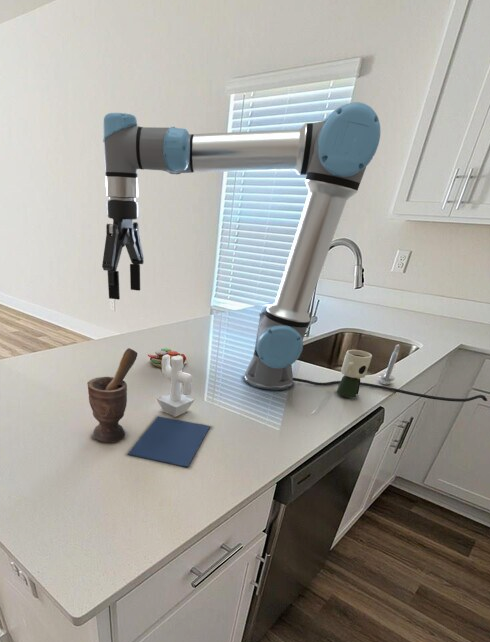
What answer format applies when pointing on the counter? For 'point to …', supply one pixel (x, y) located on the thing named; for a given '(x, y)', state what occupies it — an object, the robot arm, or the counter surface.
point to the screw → (390, 368)
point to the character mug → (353, 372)
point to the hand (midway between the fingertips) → (125, 294)
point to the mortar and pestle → (110, 400)
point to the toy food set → (157, 358)
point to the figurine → (176, 387)
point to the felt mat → (170, 441)
